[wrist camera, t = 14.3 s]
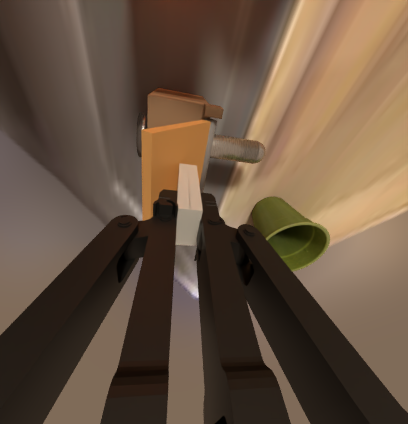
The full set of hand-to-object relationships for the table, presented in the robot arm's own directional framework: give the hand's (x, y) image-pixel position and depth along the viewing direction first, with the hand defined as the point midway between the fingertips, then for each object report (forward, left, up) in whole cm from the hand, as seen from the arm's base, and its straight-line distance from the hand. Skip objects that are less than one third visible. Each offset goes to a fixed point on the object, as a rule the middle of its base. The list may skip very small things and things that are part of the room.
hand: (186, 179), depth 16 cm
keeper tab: (0, -1, -2) cm, 2 cm away
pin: (0, +3, -13) cm, 13 cm away
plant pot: (+13, +19, -16) cm, 28 cm away
